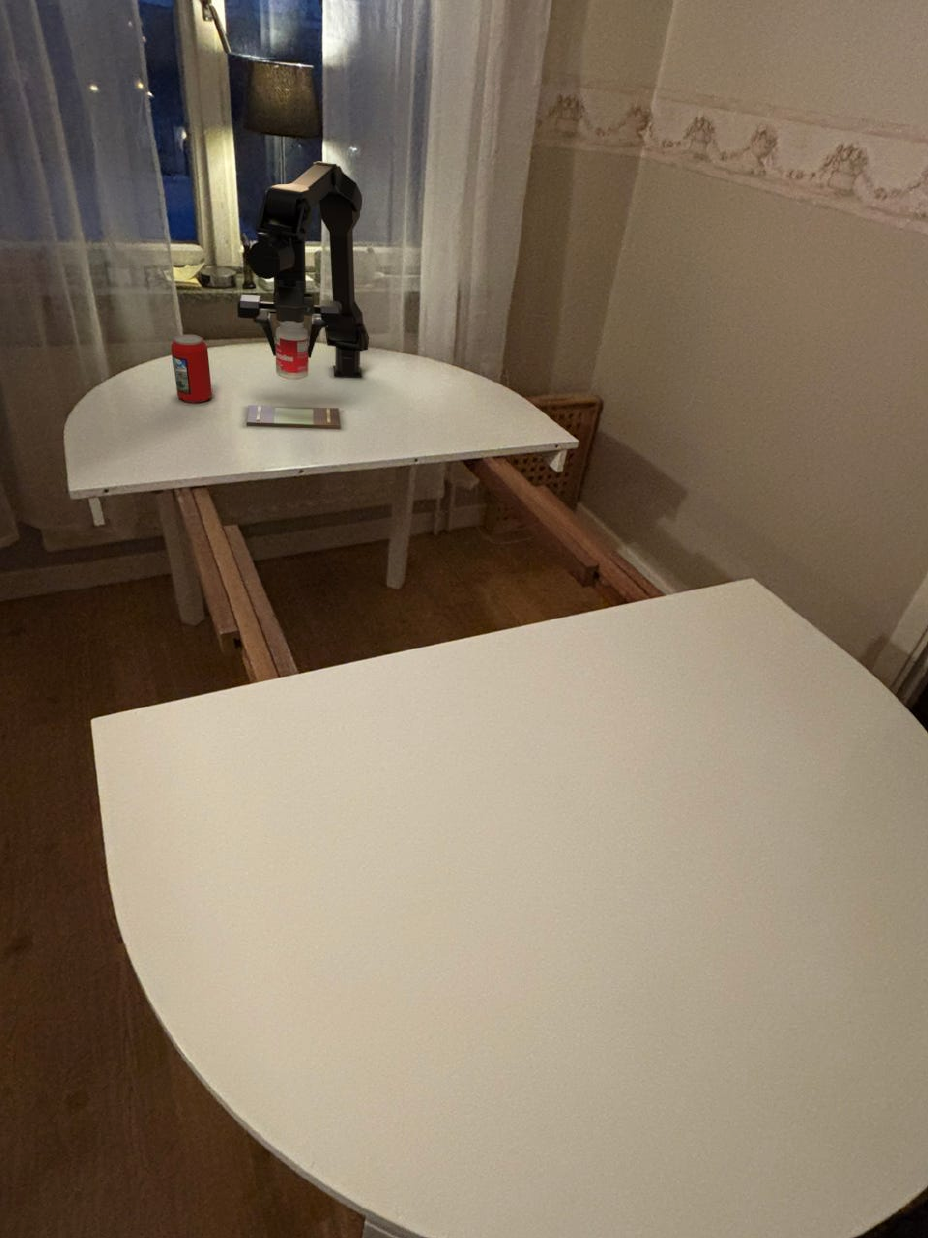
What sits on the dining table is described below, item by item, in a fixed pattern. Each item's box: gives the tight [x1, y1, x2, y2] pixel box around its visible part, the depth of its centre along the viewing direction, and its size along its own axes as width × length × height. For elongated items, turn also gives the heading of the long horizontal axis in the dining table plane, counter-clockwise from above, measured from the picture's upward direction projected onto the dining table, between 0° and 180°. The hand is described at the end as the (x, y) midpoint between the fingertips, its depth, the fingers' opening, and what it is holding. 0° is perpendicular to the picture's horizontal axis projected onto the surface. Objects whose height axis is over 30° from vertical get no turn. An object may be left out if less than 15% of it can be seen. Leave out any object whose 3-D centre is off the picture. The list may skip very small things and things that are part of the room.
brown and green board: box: [245, 404, 341, 430], centre depth 148 cm, size 9×18×1 cm, turn 100°
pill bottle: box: [274, 317, 310, 381], centre depth 141 cm, size 6×6×11 cm
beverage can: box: [170, 334, 213, 404], centre depth 148 cm, size 7×7×12 cm
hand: (292, 356), depth 142 cm, fingers closed on pill bottle, 6 cm apart
